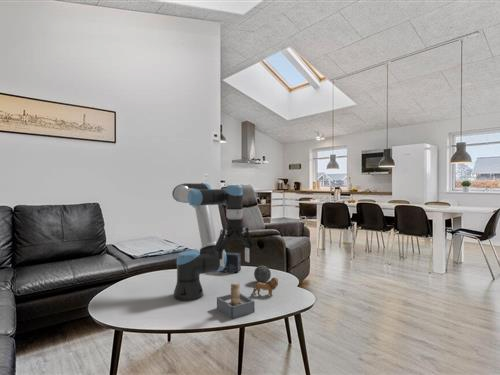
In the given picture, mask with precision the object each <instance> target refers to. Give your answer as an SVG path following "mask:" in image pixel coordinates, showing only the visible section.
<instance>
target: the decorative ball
mask: <svg viewBox="0 0 500 375" xmlns="http://www.w3.org/2000/svg"><path fill="white" fill-rule="evenodd" d="M271 274H272V272H271V269H270V268H269V267H268V266H266V265H259V266H257V267H255V269H254V273H253V275H254V276H253V277H254V278H255V280H256V281H257V283H258V282H261V283H267V282H268V281H270V280H271V279H270V278H272V277H271V276H272V275H271Z"/></svg>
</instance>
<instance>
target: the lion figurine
mask: <svg viewBox="0 0 500 375" xmlns="http://www.w3.org/2000/svg"><path fill="white" fill-rule="evenodd" d="M278 280H279V278H277V277H271V279H269V280H268V281H267V282H265V283H261V282H258V281H257V282H256V283H255V284H254V286H253V289H252V290H253V291H252V293H251V294H250V295H251V296H252V295H258V297H260V298H261V297H262V295H261V294H260V292H261V290H262V291H267V292H268V295H269V294H270V295H269V296H270V297H273V291H274V290H276V288H277V287H278V285H279V281H278Z"/></svg>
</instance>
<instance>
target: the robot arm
mask: <svg viewBox="0 0 500 375" xmlns="http://www.w3.org/2000/svg"><path fill="white" fill-rule="evenodd" d="M171 194H172V198H173V200H175V202H178V203H183V204H189V205H190V206H192V208H194V209H195V215H196V221H197V226H198V231H199V232H198V233H199V237H200V242H201V244H200V245H201V247H200V248H199V249H198V248H197V249H196V248H195V249H193V248H192V249H185V250H184V251H180V252H179V253H178V254H177V255H176V256H177V257H176V284H175V288H174V291H173V299H175V300H178V301H182V302H183V301H187V302H189V301H194V300H197V299H199V298H202V297H203V296H204V290H203V286H202V284H201V281H200V276H201V275H204V274H209V273H217V272H220V271H221V270H223V269H224V268H225V265H226V253H227V252H226V250H225V248H226V247H227V245H228V243H230V241H231V240H233V239H240V241H241V242H242V243H243V244H244V246H245V248H244V262H246V263H250V255H251V253H252V252H251V251H252V250H251V249H252V248H253V247H254V246H255V244H254V241H253V239H252V236H251V234H250V232H249V228H248V227H245V226H244V224H243V221H244V220H243V214H244V213H243V207H244V206H243V205H244V204H243V198H244V197H243V196H244V195H243V194H244V192H243V185H241V184H237V185H236V184H231V185H230V184H228V185H226V188H221V189H217V188H215V189H213V187H212V186H211V185H210V183H209V184H208V183H205V182H200V183H199V182H198V183H197V182H196V183H192V182H191V183H188V182H187V183H180V184H178V185H176V186H175V187H174V188H173V190H172V193H171ZM216 205H219V206H221V205H226V216H225V217H226V218H227V219H226V229H220V234H219V237H218V239H217V237H216V231H215V227H214V221H213V217H212V211H211V207H210V206H216ZM243 226H244V227H243ZM243 233H244V235H243ZM226 234H227V235H226ZM244 236H245V237H244Z"/></svg>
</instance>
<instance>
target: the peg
mask: <svg viewBox="0 0 500 375" xmlns="http://www.w3.org/2000/svg"><path fill="white" fill-rule="evenodd" d="M240 293H241V291H240V283H239V282H232V283H230V294H231V305H232V306H235V305H239V304H240Z"/></svg>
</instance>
